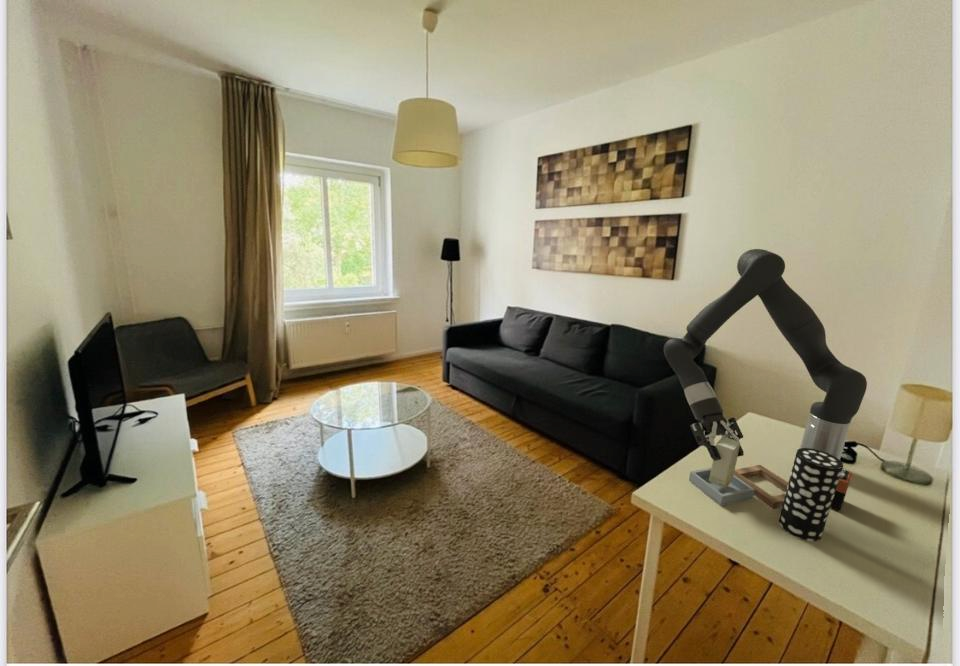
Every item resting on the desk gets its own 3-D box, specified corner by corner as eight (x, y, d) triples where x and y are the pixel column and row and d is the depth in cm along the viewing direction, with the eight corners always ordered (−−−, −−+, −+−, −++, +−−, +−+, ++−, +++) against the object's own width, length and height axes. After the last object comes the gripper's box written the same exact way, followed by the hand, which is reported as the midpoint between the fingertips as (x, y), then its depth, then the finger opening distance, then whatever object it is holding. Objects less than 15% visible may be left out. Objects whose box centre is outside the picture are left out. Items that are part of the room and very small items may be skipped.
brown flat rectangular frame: (758, 470, 118) (760, 464, 117) (806, 501, 105) (808, 494, 104) (727, 476, 115) (728, 470, 114) (772, 509, 102) (774, 502, 101)
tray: (719, 474, 116) (720, 465, 115) (752, 498, 106) (754, 489, 105) (688, 480, 113) (690, 471, 112) (720, 506, 103) (722, 496, 102)
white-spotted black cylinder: (771, 514, 100) (789, 446, 95) (807, 518, 99) (827, 449, 93) (790, 538, 92) (810, 466, 87) (829, 543, 91) (853, 470, 85)
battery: (818, 503, 104) (827, 471, 101) (822, 492, 108) (832, 461, 106) (839, 512, 101) (850, 479, 98) (843, 500, 105) (853, 469, 103)
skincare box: (725, 489, 105) (734, 450, 102) (707, 481, 108) (715, 443, 105) (732, 479, 109) (741, 442, 106) (715, 472, 112) (723, 435, 109)
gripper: (691, 399, 108) (717, 459, 101) (731, 393, 112) (760, 451, 104) (674, 407, 115) (698, 464, 107) (713, 402, 118) (739, 457, 111)
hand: (729, 458), depth 106 cm, fingers closed on skincare box, 7 cm apart
